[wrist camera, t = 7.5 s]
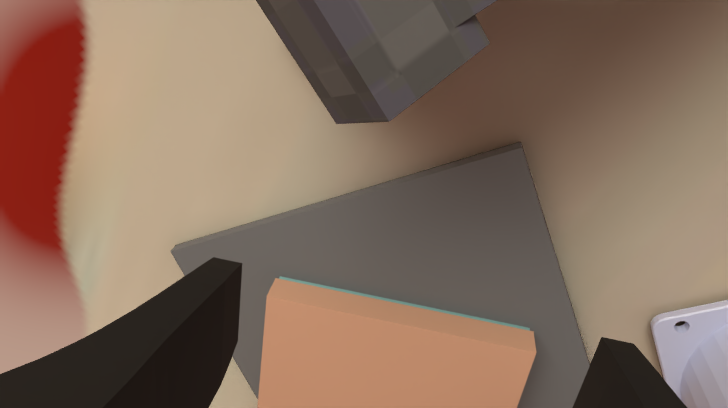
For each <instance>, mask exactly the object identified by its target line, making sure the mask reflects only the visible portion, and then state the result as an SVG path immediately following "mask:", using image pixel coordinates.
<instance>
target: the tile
mask: <svg viewBox="0 0 728 408" xmlns="http://www.w3.org/2000/svg"><path fill="white" fill-rule="evenodd" d="M535 355H536V346H535V338H534V331H530V328H528V327H523V326H518V325H513V324H508V323H503V322H499V321H494V320H489V319H484V318H479V317H474V316H469V315H465V314H460V313H455V312H450V311H445V310H440V309H436V308H431V307H426V306H421V305H416V304H411V303H407V302H402V301H397V300H392V299H387V298H382V297H378V296H373V295H368V294H363V293H358V292H353V291H349V290H344V289H339V288H334V287H329V286H324V285H320V284H315V283H310V282H305V281H300V280H295V279H291V278H286V277H281V276H280V277H279V279H278V278H275V280H274V282H273V284H272V286H271V288H270V290H269V292H268V294H267V299H266V311H265V323H264V335H263V347H262V359H261V371H260V383H259V395H258V407H257V408H517V406H518V403H519V400H520V397H521V395H522V392H523V389H524V386H525V383H526V381H527V378H528V375H529V372H530V369H531V367H532V364H533V361H534V358H535Z"/></svg>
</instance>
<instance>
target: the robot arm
mask: <svg viewBox="0 0 728 408" xmlns="http://www.w3.org/2000/svg"><path fill="white" fill-rule="evenodd" d="M241 278H242V263H239V262H234V261H230V260H225V259H220V258H215V257H213V258H211V259H210V260H208V261H207V262H205V263H204V264H202V265H201V266H199V267H198V268H196V269H195V270H193V271H192V272H190V273H189V274H187V275H186V276H184V277H183V278H181V279H180V280H179V281H177V282H176V283H174V284H173V285H171V286H170V287H168V288H167V289H165V290H164V291H162V292H161V293H159V294H158V295H156V296H154V297H153V298H151V299H150V300H148V301H147V302H145V303H144V304H142V305H140V306H139V307H137V308H136V309H134V310H133V311H131V312H129V313H127V314H126V315H124V316H122V317H121V318H119V319H117V320H115V321H114V322H112V323H110V324H108V325H107V326H105V327H103V328H102V329H100V330H98V331H96V332H94V333H92V334H90V335H89V336H87V337H85V338H83V339H81V340H79V341H77V342H75V343H73V344H71V345H69V346H66V347H64V348H62V349H60V350H58V351H56V352H54V353H51V354H49V355H47V356H45V357H42V358H40V359H38V360H35V361H33V362H30V363H28V364H25V365H23V366H20V367H18V368H15V369H12V370H10V371H7V372H5V373H2V374H0V408H208V407H209V406H210V404H211V402H212V400H213V398H214V396H215V395H216V393H217V391H218V389H219V387H220V385H221V383H222V380H223V378H224V376H225V373H226V371H227V368H228V366H229V363H230V361H231V358H232V355H233V353H234V350H235V348H236V345H237V342H238V330H239V313H240V296H241ZM680 321H685V323H684V324H683V325H681V326H675V324H676V323H677V322H680ZM650 327H651V331H652V335H653V339H654V343H655V347H656V351H657V354H658V358H659V362H660V366H661V370H662V374H663V378H664V379H663V378H662V377H661V375H660V374H659V373H658V372H657V371H656V369H655V368H654V367H653V366H652V365H651V363H650V362H649V361H648V360H647V359H646V357H645V356H644V355H643V354H642V353H641V352H640V350H639V349H638V348H637V347H636V346H635V345H634V344H632V343H627V342H622V341H618V340H613V339H608V338H603V337H601V340H600V342H599V345H598V347H597V350H596V352H595V354H594V357H593V359H592V362H591V364H590V366H589V369H588V371H587V374H586V376H585V379H584V381H583V383H582V386H581V388H580V391H579V393H578V395H577V398H576V400H575V403H574V405H573V408H728V300H725V301H720V302H715V303H710V304H705V305H700V306H695V307H690V308H685V309H681V310H676V311H671V312H666V313H662V314H659V315H656V316H655V317H654V318H653V319H652V321H651V324H650Z"/></svg>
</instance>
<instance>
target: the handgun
mask: <svg viewBox="0 0 728 408" xmlns="http://www.w3.org/2000/svg"><path fill="white" fill-rule="evenodd" d="M256 1H257V3H258V4H259V6H260V7H261V9H262V10H263V12H264V13H265V15H266V17H267V18H268V20H269V21H270V23H271V24H272V26H273V27H274V29H275V30H276V32H277V33H278V35H279V36H280V38H281V40H282V41H283V43H284V44H285V46H286V47H287V49H288V50H289V52H290V53H291V55H292V56H293V58H294V59H295V61H296V62H297V64H298V66H299V67H300V69H301V70H302V72H303V73H304V75H305V76H306V78H307V79H308V81H309V82H310V84H311V85H312V87H313V89H314V90H315V92H316V93H317V95H318V96H319V98H320V99H321V101H322V102H323V104H324V105H325V107H326V108H327V110H328V112H329V113H330V115H331V116H332V118H333V119H334V121H335V122H336V124H346V123H368V122H389V121H390V120H392V119H393V118H394V117H396V116H397V115H398V114H400V113H401V112H402V111H403V110H405V109H406V108H407V107H409V106H410V105H411V104H412V103H414V102H415V101H416V100H418V99H419V98H420V97H421V96H423V95H424V94H425V93H427V92H428V91H429V90H430V89H432V88H433V87H434V86H436V85H437V84H438V83H439V82H441V81H442V80H443V79H445V78H446V77H447V76H448V75H450V74H451V73H452V72H454V71H455V70H456V69H457V68H459V67H460V66H461V65H463V64H464V63H465V62H467V61H468V60H469V59H470V58H472V57H473V56H474V55H476V54H477V53H478V52H479V51H481V50H482V49H483V48H485V47H486V46H487V45H488V44H490V42H489V40H488V39H487V37H486V35H485V33H484V31H483V29H482V27H481V25H480V24H479V22H478V20H477V18H476V16H475V14H476V13H478V12H480V11H481V10H483V9H484V8H486V7H487V6H489V5H491V4H492V3H494V2H495V1H497V0H256Z"/></svg>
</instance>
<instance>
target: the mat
mask: <svg viewBox="0 0 728 408" xmlns="http://www.w3.org/2000/svg"><path fill="white" fill-rule="evenodd" d="M171 253H172V255H173V256H174V258H175V260H176V262H177V263H178V265H179V267H180V268H181V270H182V272H183V273H184V275H185V276H186V275H187V274H189V273H190V272H192V271H193V270H195V269H196V268H198V267H199V266H201V265H202V264H204V263H205V262H207V261H208V260H210V259H211V258H213V257H215V258H220V259H225V260H230V261H234V262H239V263H242V278H241V296H240V313H239V330H238V342H237V345H236V348H235V350H234V353H233V355H232V356H233V358H234V360H235V362H236V363H237V365H238V367H239V368H240V370H241V372H242V373H243V375H244V377H245V378H246V380H247V382H248V384H249V385H250V387H251V389H252V390H253V392H254V394H255V395H256V397H257V399H258V395H259V383H260V371H261V359H262V347H263V335H264V323H265V311H266V299H267V294H268V292H269V290H270V288H271V286H272V284H273V282H274V280H275V278H278V279H279V277H280V276H281V277H286V278H291V279H295V280H300V281H305V282H310V283H315V284H320V285H324V286H329V287H334V288H339V289H344V290H349V291H353V292H358V293H363V294H368V295H373V296H378V297H382V298H387V299H392V300H397V301H402V302H407V303H411V304H416V305H421V306H426V307H431V308H436V309H440V310H445V311H450V312H455V313H460V314H465V315H469V316H474V317H479V318H484V319H489V320H494V321H499V322H503V323H508V324H513V325H518V326H523V327H528V328H530V331H534V338H535V346H536V355H535V358H534V361H533V364H532V367H531V369H530V372H529V375H528V378H527V381H526V383H525V386H524V389H523V392H522V395H521V397H520V400H519V403H518V406H517V408H573V405H574V403H575V400H576V398H577V395H578V393H579V391H580V388H581V386H582V383H583V381H584V379H585V376H586V374H587V371H588V369H589V366H590V364H589V360H588V357H587V354H586V351H585V347H584V344H583V341H582V338H581V335H580V331H579V328H578V325H577V322H576V318H575V315H574V312H573V309H572V305H571V302H570V299H569V296H568V293H567V289H566V286H565V283H564V280H563V276H562V273H561V270H560V267H559V264H558V260H557V257H556V254H555V251H554V247H553V244H552V241H551V238H550V234H549V231H548V228H547V225H546V222H545V218H544V215H543V212H542V209H541V205H540V202H539V199H538V196H537V193H536V189H535V186H534V183H533V180H532V176H531V173H530V170H529V167H528V164H527V160H526V157H525V154H524V151H523V147H522V144H521V142H518V143H515V144H512V145H508V146H505V147H502V148H498V149H495V150H492V151H488V152H485V153H482V154H478V155H475V156H472V157H468V158H465V159H462V160H458V161H455V162H452V163H448V164H445V165H442V166H438V167H435V168H432V169H428V170H425V171H422V172H418V173H415V174H412V175H408V176H405V177H402V178H398V179H395V180H391V181H388V182H385V183H381V184H378V185H375V186H371V187H368V188H365V189H361V190H358V191H355V192H351V193H348V194H345V195H341V196H338V197H335V198H331V199H328V200H325V201H321V202H318V203H315V204H311V205H308V206H305V207H301V208H298V209H295V210H291V211H288V212H285V213H281V214H278V215H275V216H271V217H268V218H265V219H261V220H258V221H255V222H251V223H248V224H245V225H241V226H238V227H234V228H231V229H228V230H224V231H221V232H218V233H214V234H211V235H208V236H204V237H201V238H198V239H194V240H191V241H188V242H184V243H181V244H178V245H175V247H174V248H173V249H172V250H171Z"/></svg>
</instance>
